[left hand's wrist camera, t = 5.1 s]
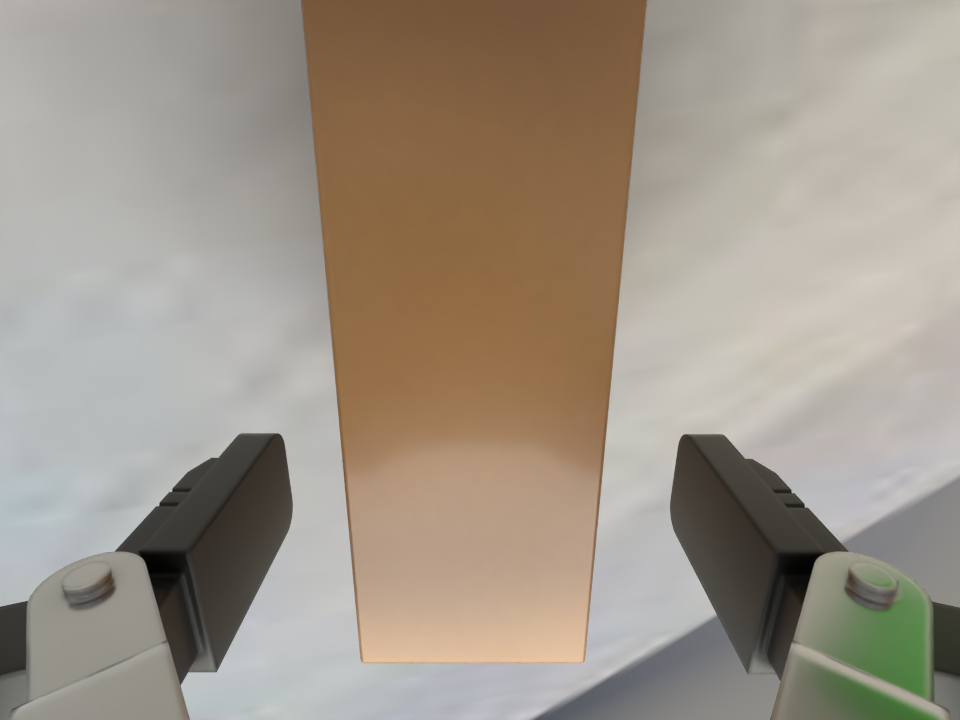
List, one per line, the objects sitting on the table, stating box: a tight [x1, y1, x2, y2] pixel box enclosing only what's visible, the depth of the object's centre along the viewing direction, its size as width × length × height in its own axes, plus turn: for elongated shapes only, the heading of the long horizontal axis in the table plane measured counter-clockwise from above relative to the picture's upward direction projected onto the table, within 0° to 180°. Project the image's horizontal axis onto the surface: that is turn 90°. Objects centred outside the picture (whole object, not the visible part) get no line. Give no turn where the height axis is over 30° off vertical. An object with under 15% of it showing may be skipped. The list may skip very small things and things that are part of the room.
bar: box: [301, 0, 647, 663], centre depth 11 cm, size 25×4×10 cm, turn 0°
